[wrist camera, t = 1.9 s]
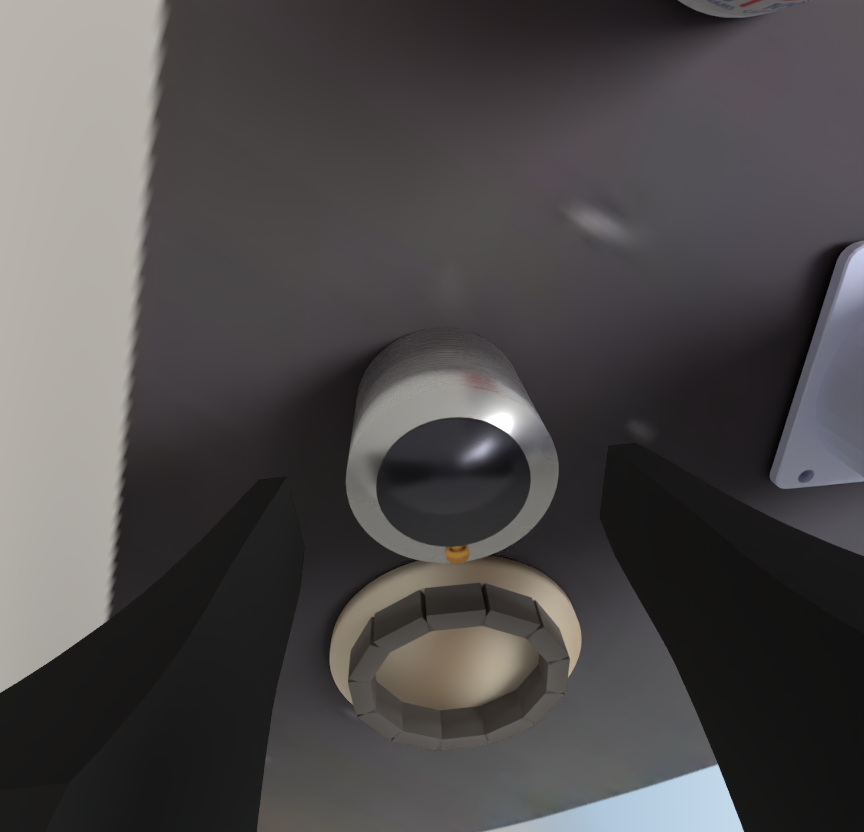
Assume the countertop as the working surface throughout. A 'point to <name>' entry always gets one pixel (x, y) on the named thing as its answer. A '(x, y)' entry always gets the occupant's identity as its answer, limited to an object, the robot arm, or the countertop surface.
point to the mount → (455, 651)
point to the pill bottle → (739, 7)
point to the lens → (447, 449)
